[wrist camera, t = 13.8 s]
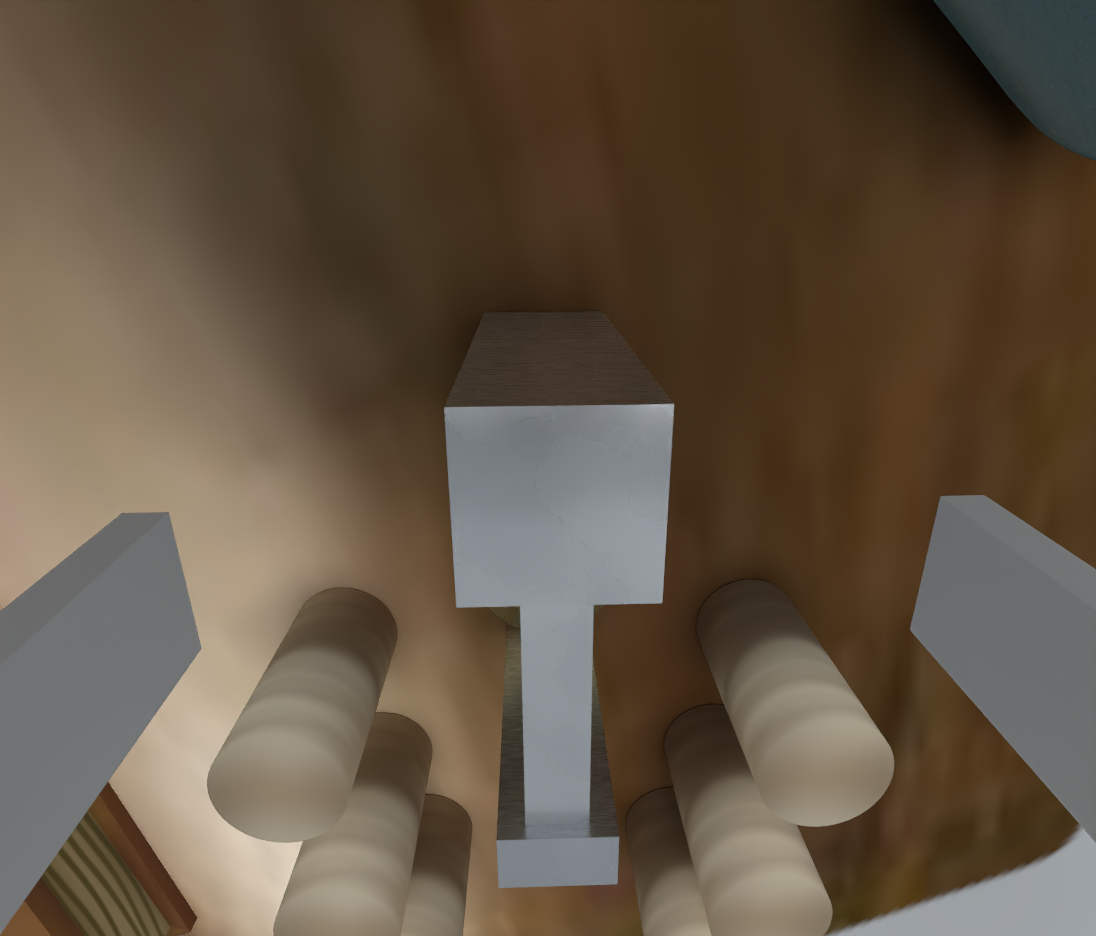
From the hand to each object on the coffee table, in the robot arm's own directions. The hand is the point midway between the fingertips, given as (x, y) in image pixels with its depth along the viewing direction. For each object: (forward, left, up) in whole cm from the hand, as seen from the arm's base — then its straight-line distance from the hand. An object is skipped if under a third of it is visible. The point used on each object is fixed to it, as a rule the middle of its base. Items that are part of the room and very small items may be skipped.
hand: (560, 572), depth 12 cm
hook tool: (-1, 0, -13) cm, 13 cm away
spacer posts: (+16, 0, -13) cm, 20 cm away
